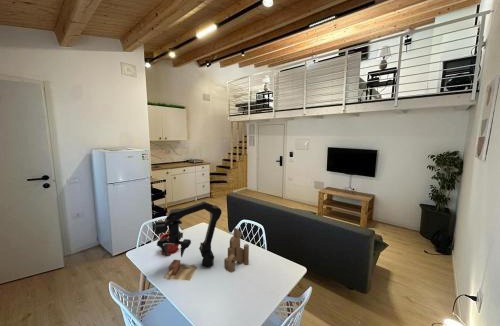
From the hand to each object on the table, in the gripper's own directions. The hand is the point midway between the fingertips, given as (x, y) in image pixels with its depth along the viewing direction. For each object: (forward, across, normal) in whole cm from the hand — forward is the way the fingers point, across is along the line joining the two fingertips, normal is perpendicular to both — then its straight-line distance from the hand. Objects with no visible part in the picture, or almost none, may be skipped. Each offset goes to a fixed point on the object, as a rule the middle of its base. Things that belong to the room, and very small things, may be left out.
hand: (174, 256), depth 133 cm
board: (+11, -4, 0) cm, 12 cm away
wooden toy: (+11, -36, -12) cm, 40 cm away
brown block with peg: (+10, 0, +2) cm, 10 cm away
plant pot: (+11, +14, -23) cm, 29 cm away
